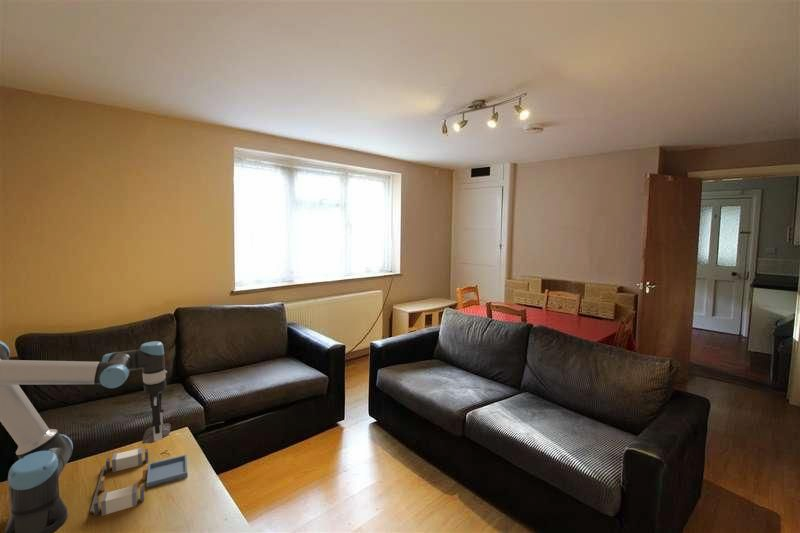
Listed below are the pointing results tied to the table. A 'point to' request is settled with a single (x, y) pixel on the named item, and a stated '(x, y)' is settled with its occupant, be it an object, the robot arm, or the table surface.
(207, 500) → the table surface
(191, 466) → the table surface
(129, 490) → the fuse
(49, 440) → the robot arm
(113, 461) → the fuse
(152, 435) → the rock
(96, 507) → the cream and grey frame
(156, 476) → the tray
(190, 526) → the table surface
